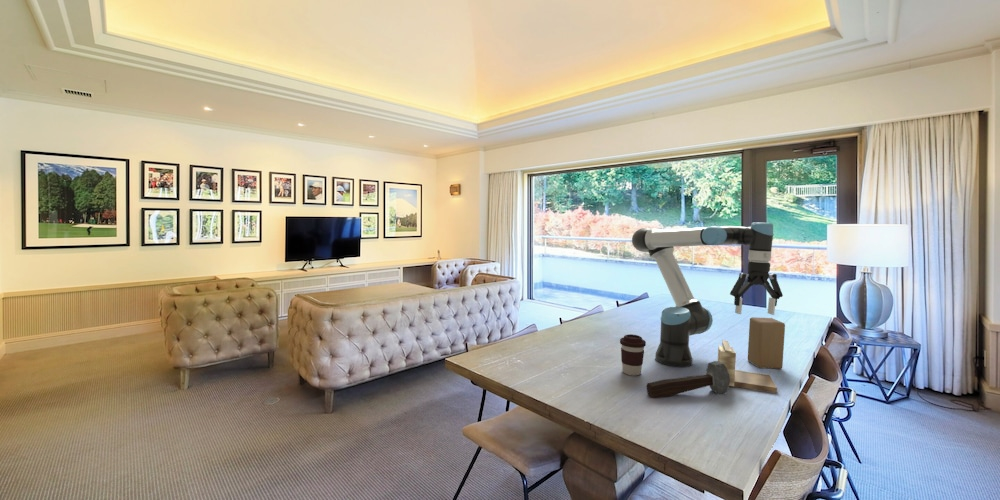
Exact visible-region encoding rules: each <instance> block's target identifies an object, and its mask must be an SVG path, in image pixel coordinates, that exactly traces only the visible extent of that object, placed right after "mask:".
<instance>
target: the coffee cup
mask: <svg viewBox="0 0 1000 500" xmlns="http://www.w3.org/2000/svg"><path fill="white" fill-rule="evenodd" d="M646 343H647V342H646V340H645V339H643V338H642V336H641V335H637V334H631V333H630V334H625V335H624V336H623V337H621V338H620V339H619V344H620V345H621V347H620V352H621V354H620V355H621V359H620V360H621V367H622V369H621V370H622V372H623V373H624V374H625V375H629V376H634V377H636V376H640V375H641V374H642V368H643V363H644V356H645V347H646V345H647V344H646Z"/></svg>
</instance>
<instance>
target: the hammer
mask: <svg viewBox="0 0 1000 500" xmlns="http://www.w3.org/2000/svg"><path fill="white" fill-rule="evenodd" d="M705 371H706V372H705V374H699V375H692V376H683V377H673V378H667V379H666V378H665V379H660V380H655V381H652V382H651V381H650V382H647V383H646V392H647V395H648V396H650V397H651V398H652V399H660V398H666V397H671V396H676V395H678V394H682V393H687V392H690V391H694V390H697V389H701V388H705V387H709V388H710V390H711V391H713V392H715V393H716V394H718V395H720V396H721V395H726V393H728V390H729V387H730V386H729V383H730V376H729V373H728V370H727V368H726V366H725V365H724V364H723V363H721V362H719V361H718V360H713V361H710V362H709V363H708V364H707V367H706V370H705Z"/></svg>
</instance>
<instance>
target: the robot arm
mask: <svg viewBox="0 0 1000 500" xmlns="http://www.w3.org/2000/svg"><path fill="white" fill-rule="evenodd" d="M773 239H774V224H773V223H771V222H757V221H756V222H751V225H750V226H739V225H738V226H736V225H723V226H720V225H711V226H707V227H706V226H705V227H692V228H690V227H689V228H677V229H666V228H662V227H655V228H653V227H652V228H649V227H648V228H647V227H646V228H645V227H644V228H639V229H638V230H636V231H635V232H634V233H633V235H632V237H631V242H632V243H631V244H632V246H633V248H634V249H636V250H637V251H639V252H642V253H648V254H649V257H650V259H652V260H655V262H656V264H657V266H658V269H659V271H660V273H661V275H662V277H663V280H664V282H665V284H666V286H667V289H668V291H669V293H670V295H671V297H672V299H673V301H674V304H675V306H670V307H666V308H664V309H663V310H662V311H661V316H660V334H659V335H660V337H659V344H658V346H657V349H656V351H655V361H657V362H658V363H660V364H662V365H666V366H670V367H680V368H684V367H685V368H686V367H690V366H692V365H693V356H692V352H691V348H690V345H689V344H690V336H693V335H700V334H704V333H706V332H708V330H710V329H711V327H712V325H713V315H712V313H711V312H710V310H709V309H708V308H706V307H704V306H703V305H702V303H701V302H700V300H698V299H695V296H694V295H693V292H692V291H691V289H690V286H689V284H688V283H687V280H686V278H685V276H684V274H683V272H682V270H681V267H680V265H679V264H678V261H677V260H676V259H677V258H676V257H675V255H674V252H675V247H677V248H678V247H698V246H699V247H700V246H727V245H728V246H729V245H737V246H738V245H739V246H749V247H748V257H747V259H748V261H747V273H744V272H739V274H738V278H737V280H736V282H735V284H734V285H733V287H732V289H731V291H730V293H729V295H730V296H733V297H734V299H733V300H734V301H733V304H734V306H735V309H734V311H735V312H734V313H735V314H738V315H742V311H743V310H742V308H743V300H744V299H743V297H742V296H744V294H745V293H746V292H747V291H748V290H749V289H750V288H751V287H752V286H763V287H764V289H765V291H767V293H768V294H769V296H770V297H768V305H767V314H769V315H771V316H774V315H775V309H776V307H777V306H778V304H777V303H778V300H779V299H780V298H782V297H783V296H784V295H783V292H782V289H781V288H780V285H779V282H778V278H777V277H778V276H777V274H776V273H769V272H770V270H771V263H770V262H771V260H772V251H773V250H772V248H773ZM768 279H769V280H768Z"/></svg>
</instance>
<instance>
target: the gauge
mask: <svg viewBox="0 0 1000 500" xmlns="http://www.w3.org/2000/svg"><path fill="white" fill-rule="evenodd" d="M721 341H722V343H721V345H718V347H717V348H718V351H717V361H719V362H721V363H723V364H724V365H725V366H726V368H727V370H728V373H729V376H730V383H729V387H734V381H735V370H736V359H737V352H736V351H735V350H734V347H733V346H731V345H730V343H729V340H723V339H722V340H721Z"/></svg>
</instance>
